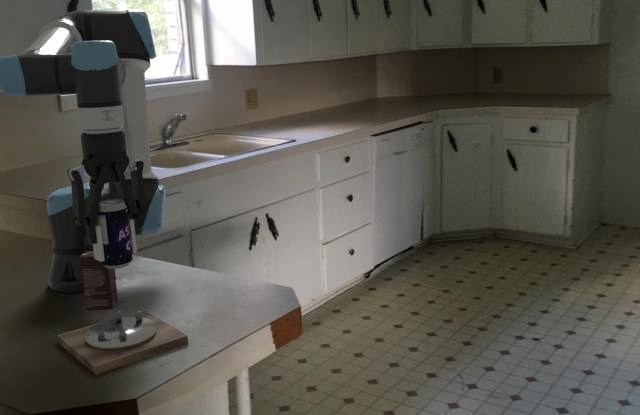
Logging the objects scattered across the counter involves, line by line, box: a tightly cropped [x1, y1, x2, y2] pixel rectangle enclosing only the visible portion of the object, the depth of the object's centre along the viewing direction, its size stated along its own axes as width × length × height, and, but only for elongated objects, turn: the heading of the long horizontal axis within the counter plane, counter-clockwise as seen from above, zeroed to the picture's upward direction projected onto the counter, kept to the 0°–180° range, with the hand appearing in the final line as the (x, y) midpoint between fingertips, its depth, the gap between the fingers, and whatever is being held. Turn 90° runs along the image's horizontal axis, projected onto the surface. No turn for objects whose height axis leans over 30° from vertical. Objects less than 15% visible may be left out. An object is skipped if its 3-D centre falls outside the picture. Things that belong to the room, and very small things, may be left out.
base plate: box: [56, 309, 189, 376], centre depth 129 cm, size 18×18×2 cm
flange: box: [85, 310, 157, 351], centre depth 128 cm, size 13×13×3 cm
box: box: [79, 251, 119, 310], centre depth 146 cm, size 6×4×12 cm
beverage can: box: [96, 199, 134, 270], centre depth 124 cm, size 6×6×12 cm
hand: (115, 255), depth 125 cm, fingers closed on beverage can, 6 cm apart
